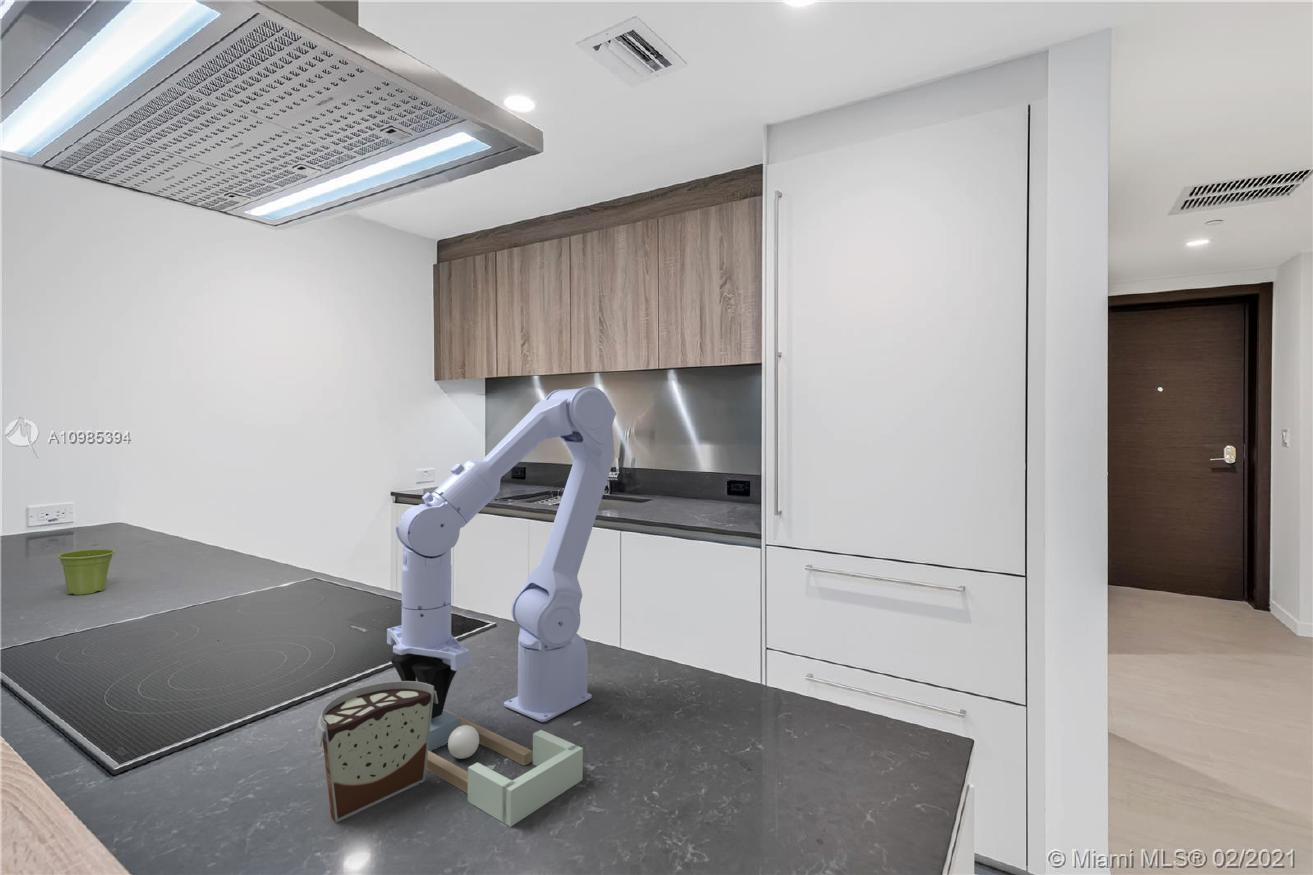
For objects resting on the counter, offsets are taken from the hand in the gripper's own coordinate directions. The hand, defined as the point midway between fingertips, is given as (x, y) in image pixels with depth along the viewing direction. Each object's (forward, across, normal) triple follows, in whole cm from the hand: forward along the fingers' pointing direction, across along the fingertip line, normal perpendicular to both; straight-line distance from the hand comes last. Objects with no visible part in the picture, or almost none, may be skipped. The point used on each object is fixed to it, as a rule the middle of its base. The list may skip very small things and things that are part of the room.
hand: (426, 713), depth 76 cm
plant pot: (+3, -116, -9) cm, 116 cm away
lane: (+3, +6, 0) cm, 6 cm away
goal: (+3, +18, 0) cm, 18 cm away
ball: (+1, +8, 0) cm, 8 cm away
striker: (+3, 0, 0) cm, 3 cm away
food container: (+3, +5, -10) cm, 12 cm away
